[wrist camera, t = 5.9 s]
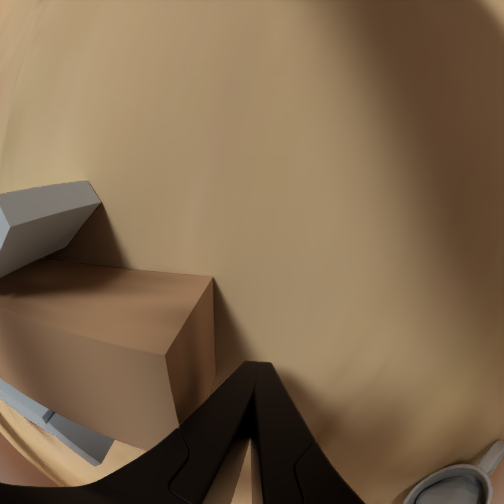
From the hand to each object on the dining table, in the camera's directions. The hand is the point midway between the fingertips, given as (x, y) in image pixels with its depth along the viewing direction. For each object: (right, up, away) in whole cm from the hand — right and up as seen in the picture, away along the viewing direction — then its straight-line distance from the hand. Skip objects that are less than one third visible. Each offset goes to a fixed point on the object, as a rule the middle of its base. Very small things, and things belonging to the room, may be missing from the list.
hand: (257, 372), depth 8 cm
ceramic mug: (+17, -15, +5) cm, 23 cm away
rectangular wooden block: (-6, +1, +2) cm, 7 cm away
